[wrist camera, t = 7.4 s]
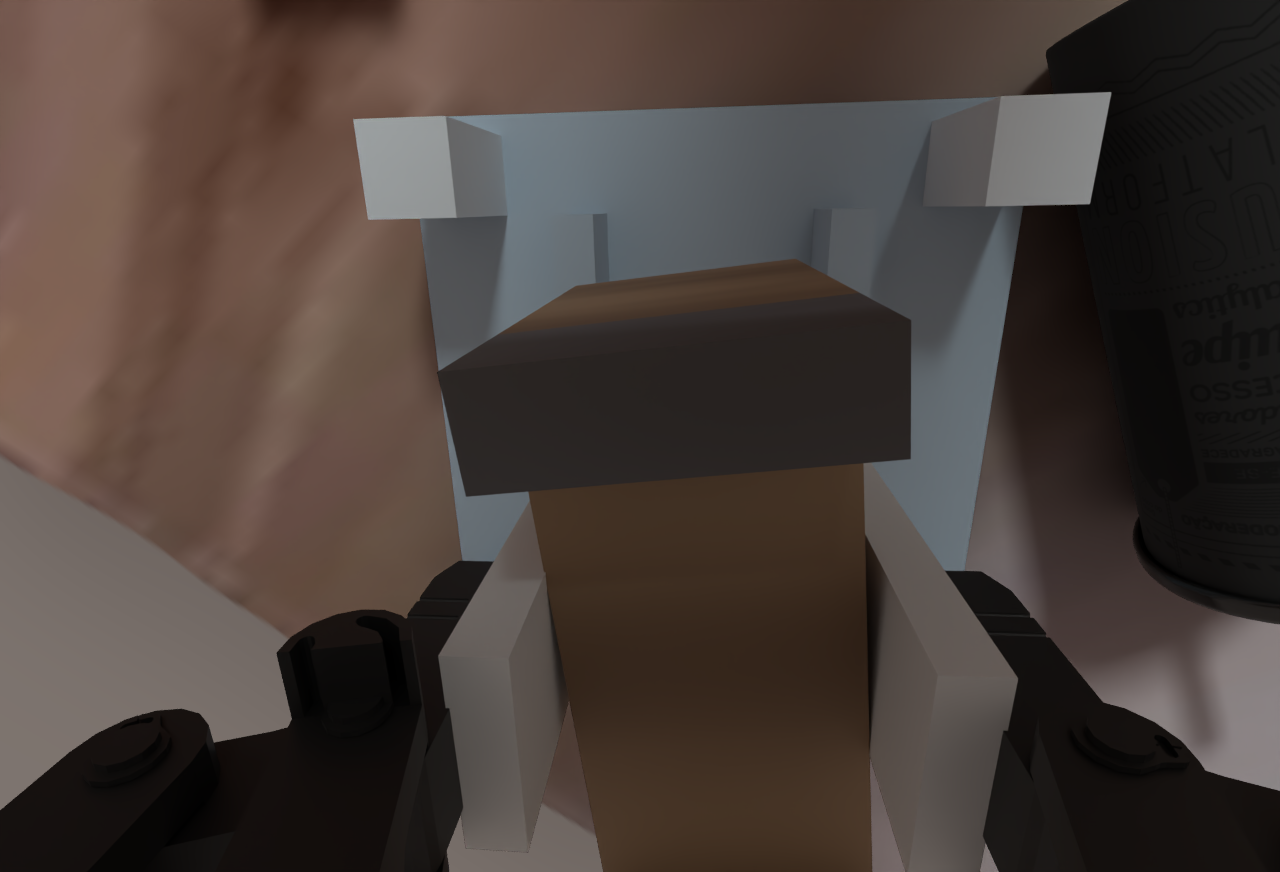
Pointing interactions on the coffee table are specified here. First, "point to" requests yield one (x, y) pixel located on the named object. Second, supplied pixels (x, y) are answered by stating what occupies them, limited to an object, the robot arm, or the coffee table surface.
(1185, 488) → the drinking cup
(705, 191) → the jig
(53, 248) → the coffee table surface
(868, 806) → the brown blocky piece
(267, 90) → the coffee table surface
